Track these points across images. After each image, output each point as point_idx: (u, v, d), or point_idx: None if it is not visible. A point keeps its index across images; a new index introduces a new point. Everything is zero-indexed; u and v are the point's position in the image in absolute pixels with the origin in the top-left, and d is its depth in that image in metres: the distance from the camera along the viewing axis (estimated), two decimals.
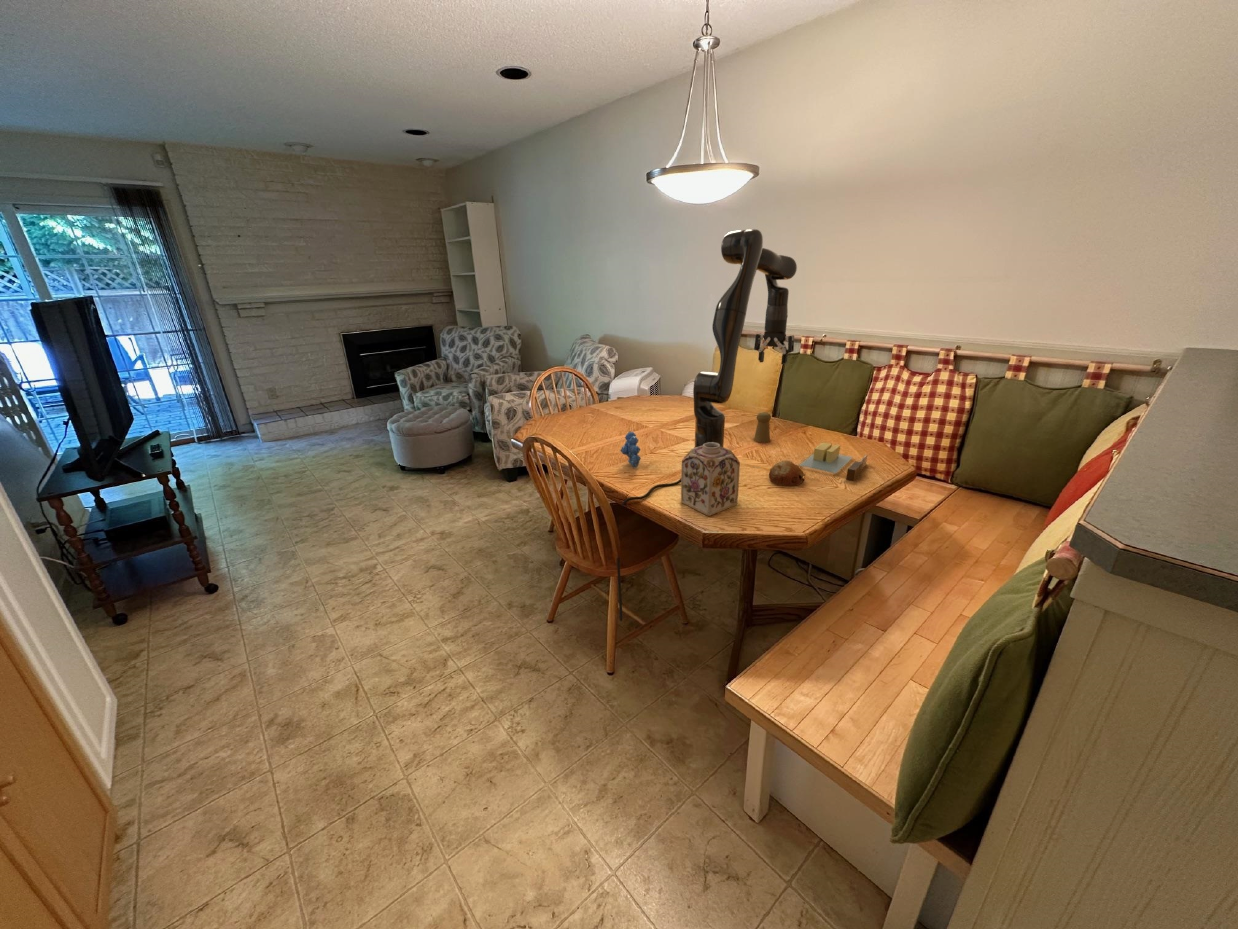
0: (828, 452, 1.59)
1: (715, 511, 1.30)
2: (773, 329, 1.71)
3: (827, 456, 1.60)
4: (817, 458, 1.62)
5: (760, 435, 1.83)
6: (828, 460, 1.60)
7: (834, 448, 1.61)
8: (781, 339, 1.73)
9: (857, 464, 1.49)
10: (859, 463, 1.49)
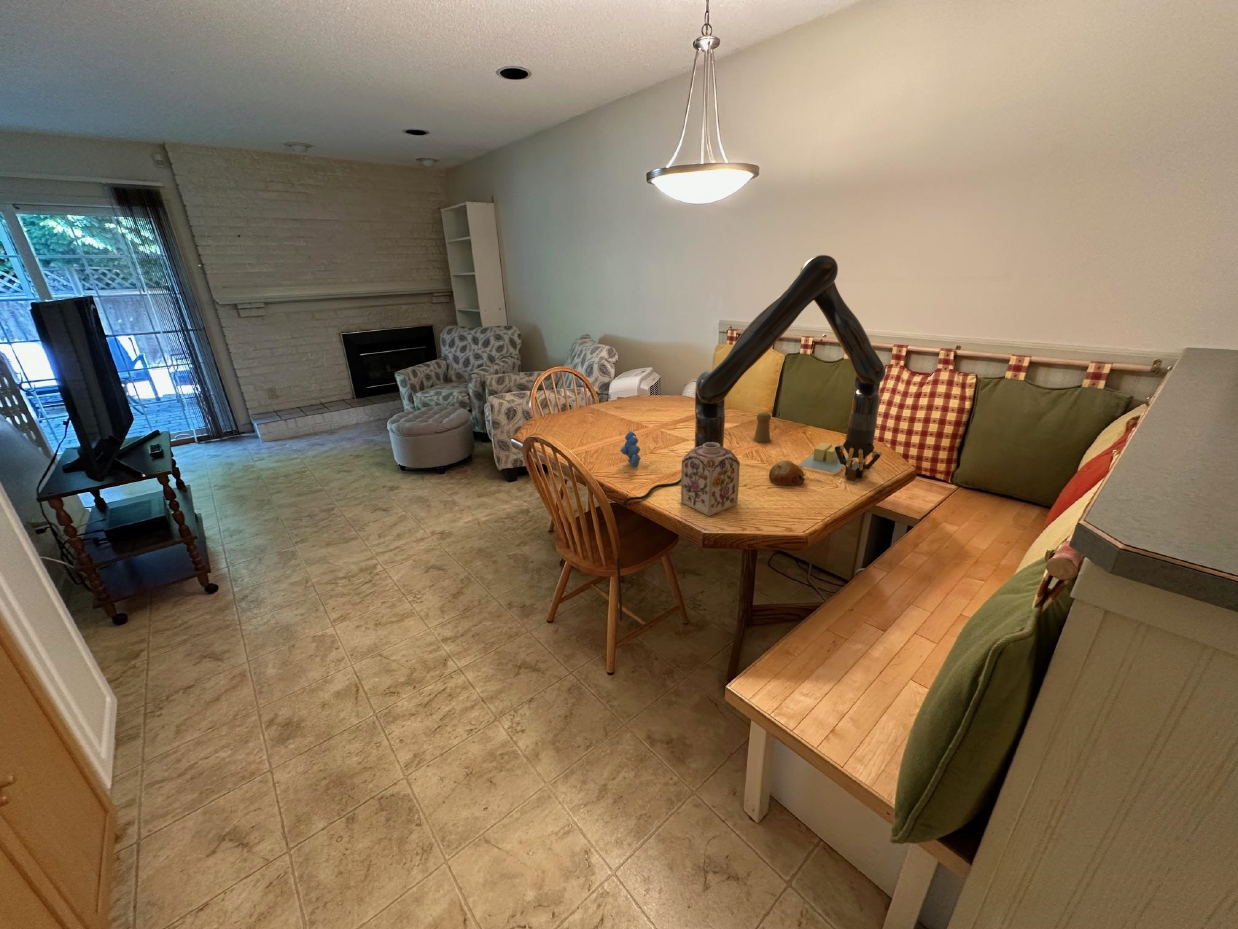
0: (828, 452, 1.59)
1: (715, 511, 1.30)
2: (859, 441, 1.41)
3: (827, 456, 1.60)
4: (817, 458, 1.62)
5: (760, 435, 1.83)
6: (828, 460, 1.60)
7: (834, 448, 1.61)
8: (866, 454, 1.44)
9: (857, 464, 1.49)
10: None
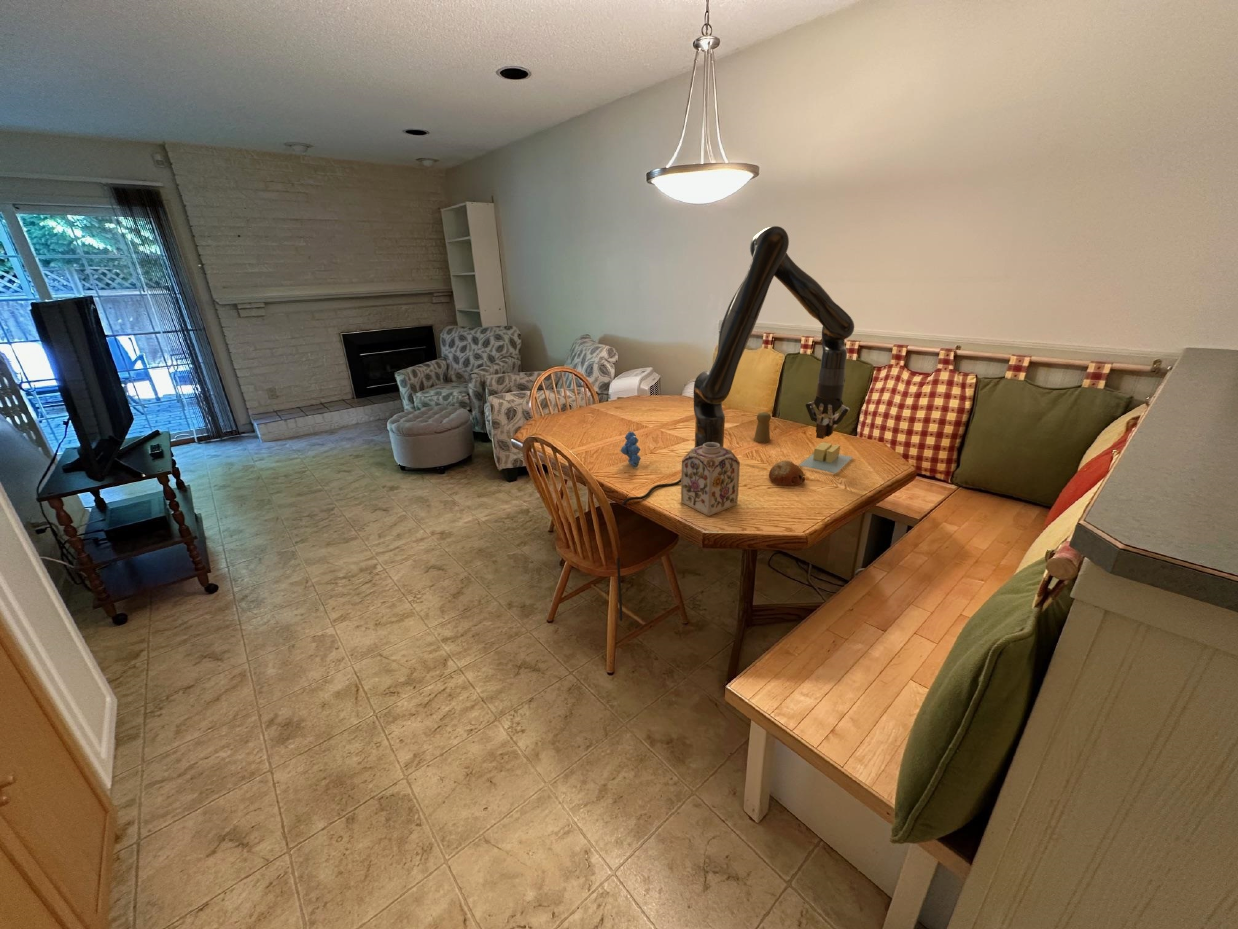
0: (828, 452, 1.59)
1: (715, 511, 1.30)
2: (827, 396, 1.46)
3: (827, 456, 1.60)
4: (817, 458, 1.62)
5: (760, 435, 1.83)
6: (828, 460, 1.60)
7: (834, 448, 1.61)
8: (835, 409, 1.48)
9: (827, 420, 1.53)
10: None
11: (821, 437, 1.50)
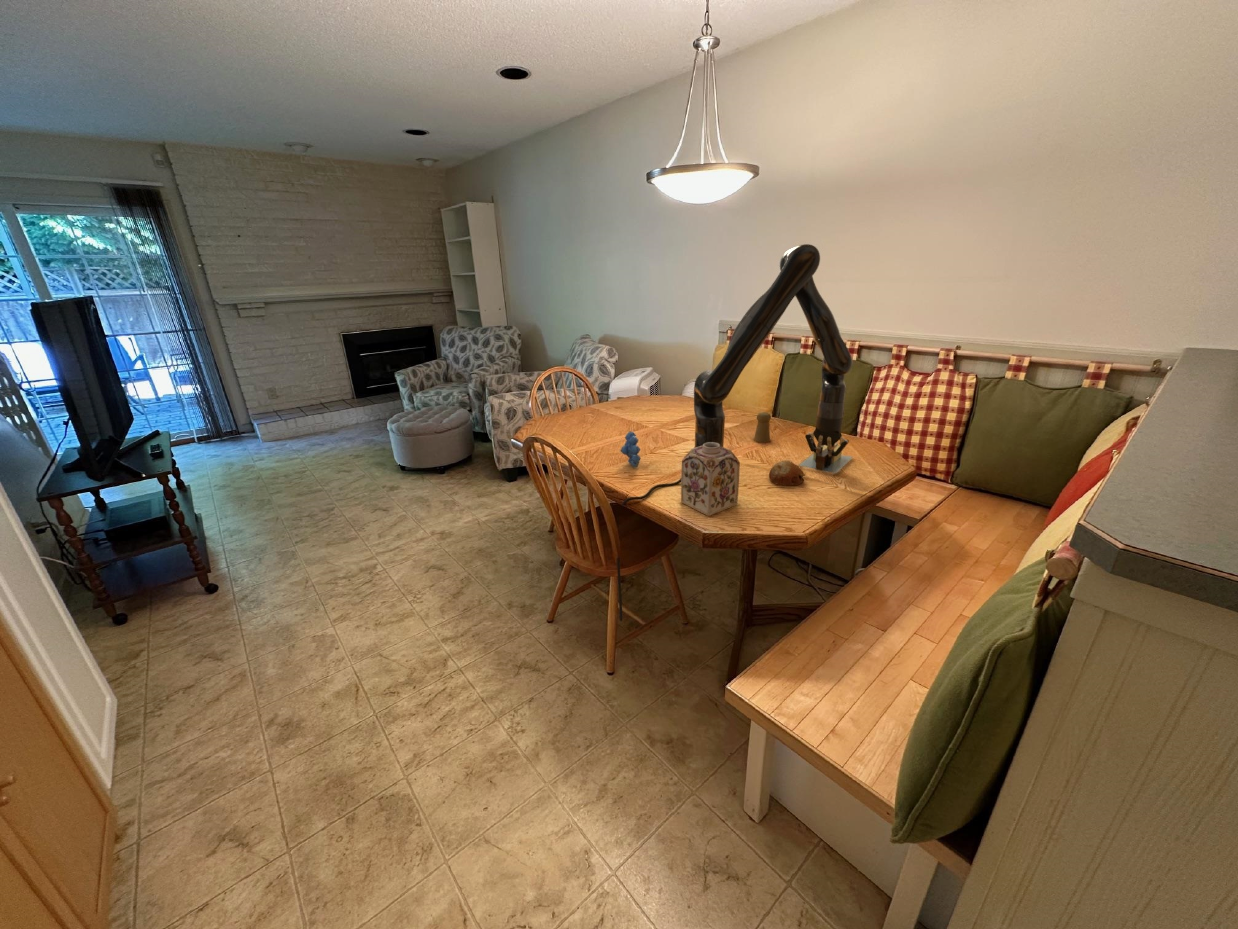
0: None
1: (715, 511, 1.30)
2: (827, 429, 1.49)
3: None
4: None
5: (760, 435, 1.83)
6: None
7: (836, 448, 1.61)
8: (834, 441, 1.51)
9: (826, 451, 1.56)
10: None
11: (820, 468, 1.54)
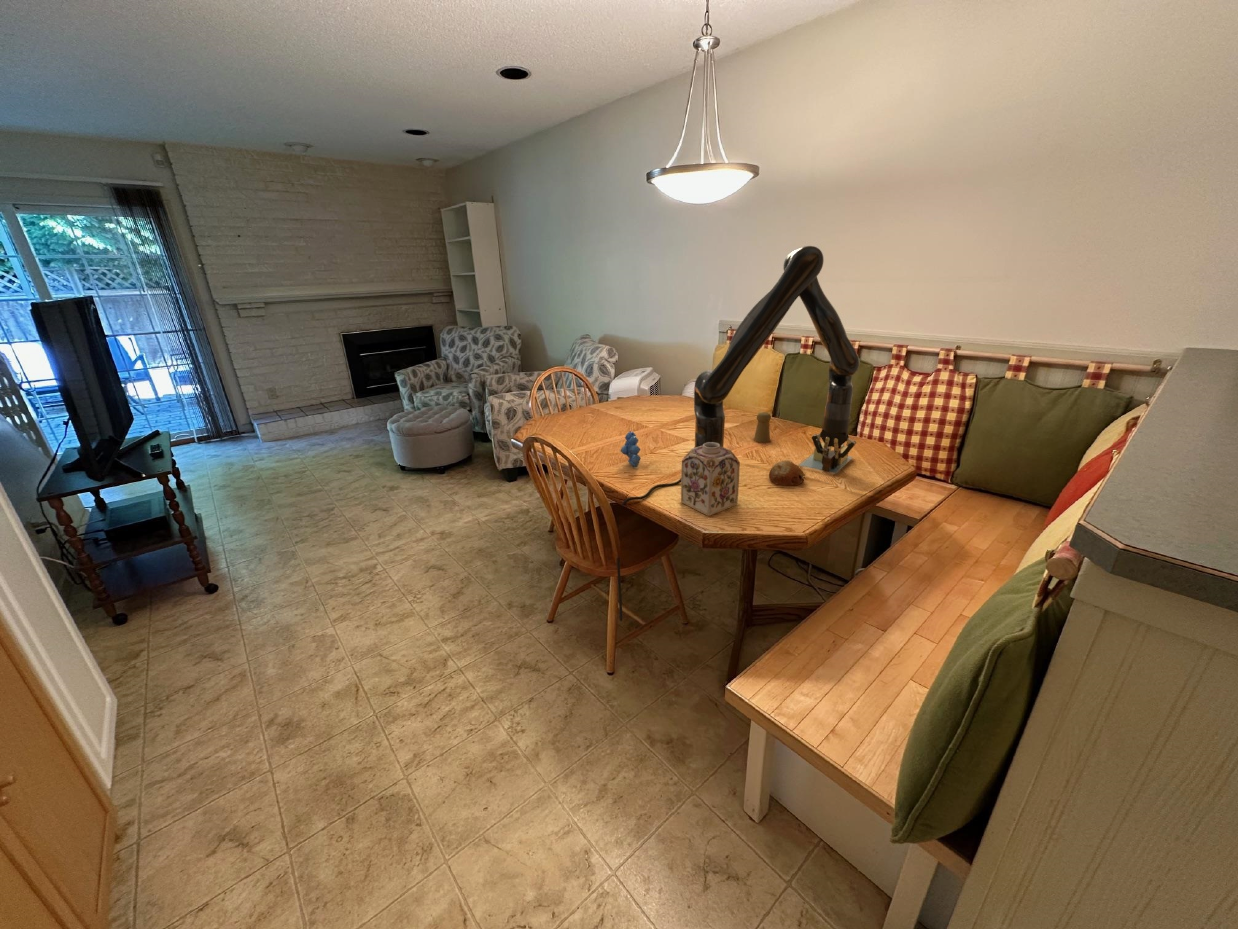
0: None
1: (715, 511, 1.30)
2: (834, 430, 1.48)
3: None
4: (817, 458, 1.62)
5: (760, 435, 1.83)
6: None
7: (843, 450, 1.59)
8: (841, 443, 1.50)
9: (833, 453, 1.55)
10: None
11: (827, 470, 1.52)
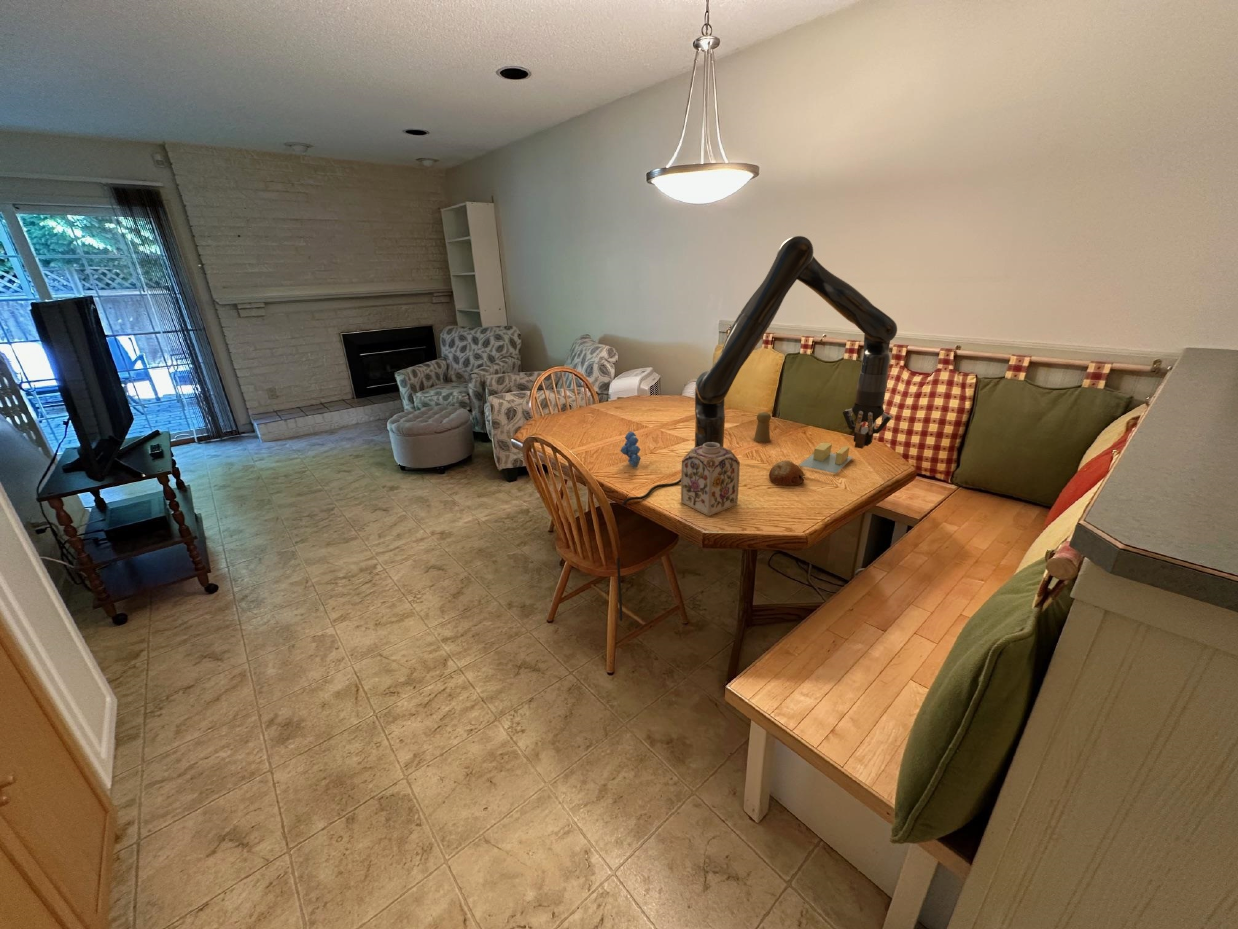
0: (837, 454, 1.57)
1: (715, 511, 1.30)
2: (868, 403, 1.37)
3: (836, 458, 1.58)
4: (817, 458, 1.62)
5: (760, 435, 1.83)
6: (837, 462, 1.58)
7: (843, 450, 1.59)
8: (876, 417, 1.39)
9: (866, 429, 1.44)
10: None
11: (860, 447, 1.41)
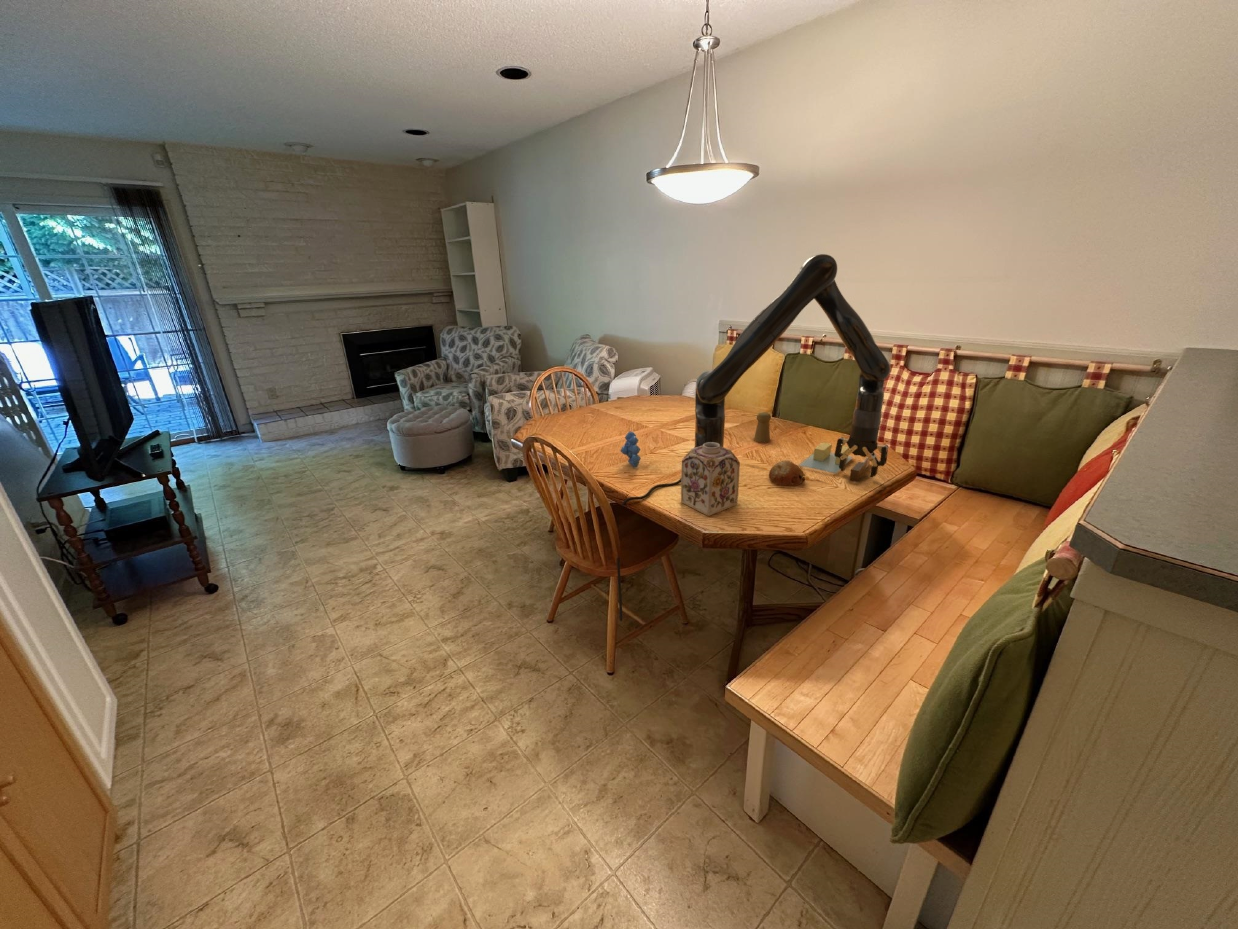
0: None
1: (715, 511, 1.30)
2: (862, 439, 1.40)
3: (836, 458, 1.58)
4: (817, 458, 1.62)
5: (760, 435, 1.83)
6: (837, 462, 1.58)
7: (843, 450, 1.59)
8: (871, 449, 1.42)
9: (860, 465, 1.48)
10: (862, 464, 1.49)
11: None
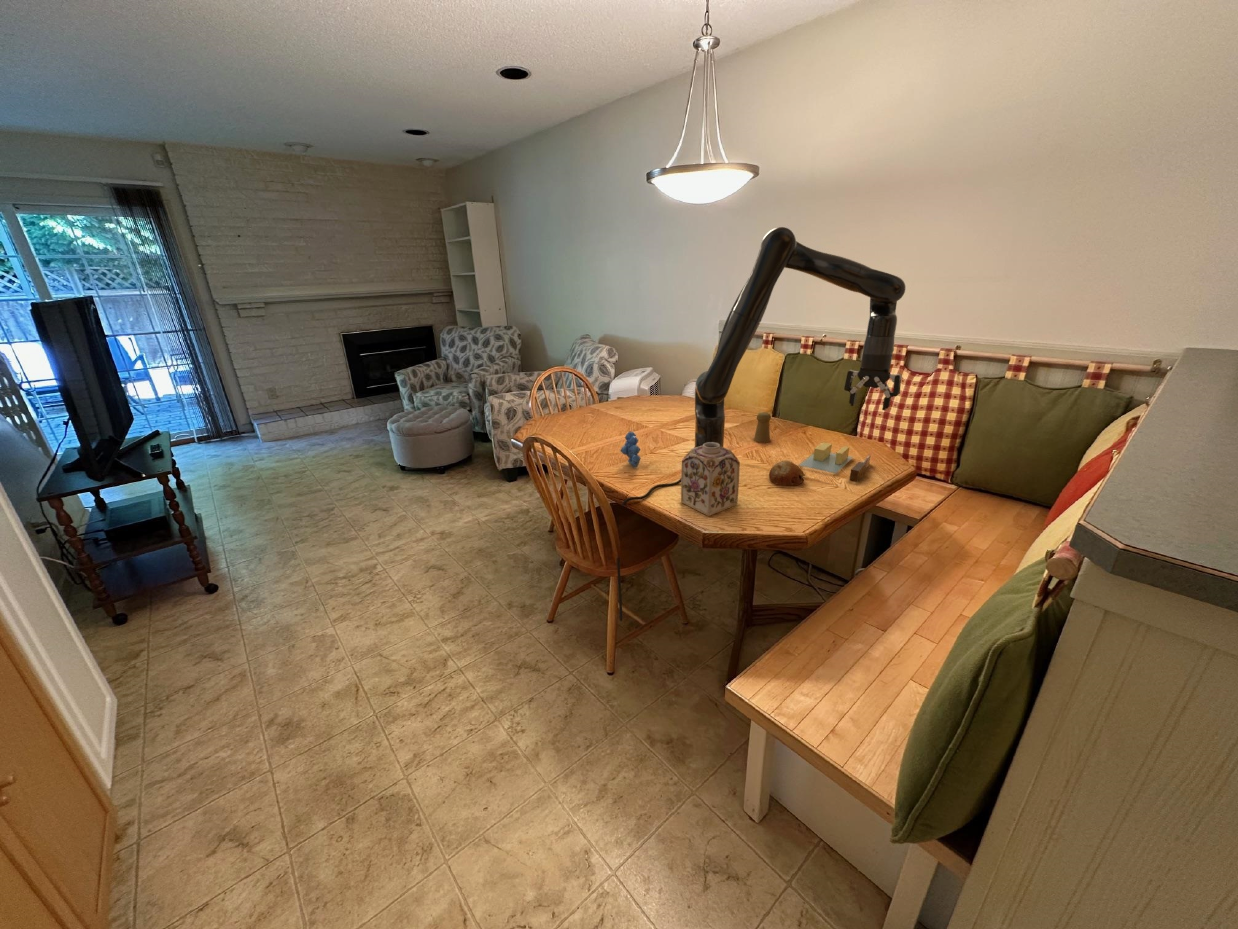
0: (837, 454, 1.57)
1: (715, 511, 1.30)
2: (874, 367, 1.33)
3: (836, 458, 1.58)
4: (817, 458, 1.62)
5: (760, 435, 1.83)
6: (837, 462, 1.58)
7: (843, 450, 1.59)
8: (884, 379, 1.34)
9: (860, 465, 1.48)
10: (862, 464, 1.49)
11: None
